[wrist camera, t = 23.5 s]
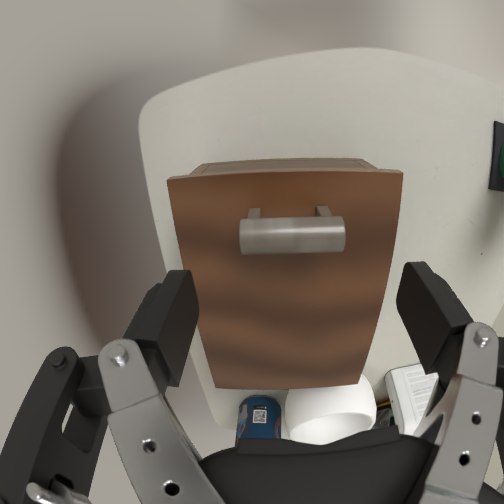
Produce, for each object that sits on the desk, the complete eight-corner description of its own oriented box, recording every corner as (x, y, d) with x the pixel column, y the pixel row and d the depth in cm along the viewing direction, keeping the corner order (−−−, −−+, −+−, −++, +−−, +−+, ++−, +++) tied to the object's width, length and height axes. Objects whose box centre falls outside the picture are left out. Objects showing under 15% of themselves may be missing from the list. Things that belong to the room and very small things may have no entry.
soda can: (279, 412, 44) (278, 472, 33) (240, 411, 44) (233, 470, 33) (283, 393, 40) (282, 460, 30) (239, 391, 41) (231, 458, 30)
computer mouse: (424, 407, 44) (430, 428, 38) (352, 419, 45) (356, 443, 40) (442, 384, 39) (451, 407, 34) (365, 396, 40) (371, 424, 35)
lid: (170, 176, 17) (136, 202, 12) (398, 169, 15) (437, 193, 11) (216, 382, 27) (209, 422, 22) (356, 378, 25) (364, 418, 21)
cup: (382, 361, 36) (398, 416, 27) (330, 401, 41) (335, 451, 33) (319, 336, 33) (328, 400, 25) (268, 383, 39) (265, 439, 31)
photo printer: (381, 383, 38) (396, 448, 28) (386, 368, 36) (405, 436, 26) (433, 372, 37) (454, 429, 26) (441, 356, 35) (466, 416, 24)
